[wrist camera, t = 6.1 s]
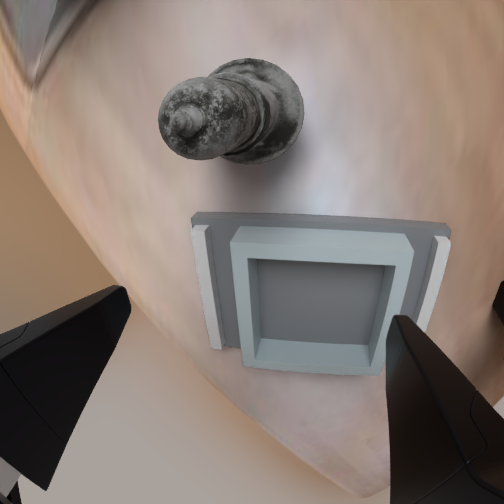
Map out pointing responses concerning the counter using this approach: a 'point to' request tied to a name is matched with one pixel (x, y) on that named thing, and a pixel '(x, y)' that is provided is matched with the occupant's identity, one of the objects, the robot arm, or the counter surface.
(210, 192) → the counter surface
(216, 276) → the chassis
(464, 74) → the counter surface
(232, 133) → the grey stone chess piece
